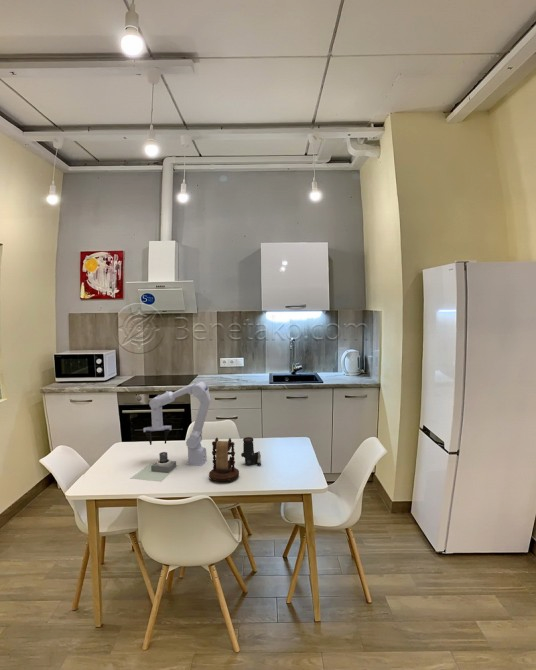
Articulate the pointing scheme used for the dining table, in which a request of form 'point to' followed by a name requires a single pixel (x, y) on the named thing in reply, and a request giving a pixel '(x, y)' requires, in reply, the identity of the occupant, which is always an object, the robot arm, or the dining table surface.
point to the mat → (151, 474)
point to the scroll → (223, 461)
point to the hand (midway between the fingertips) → (158, 443)
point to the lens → (163, 457)
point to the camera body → (163, 466)
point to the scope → (250, 452)
